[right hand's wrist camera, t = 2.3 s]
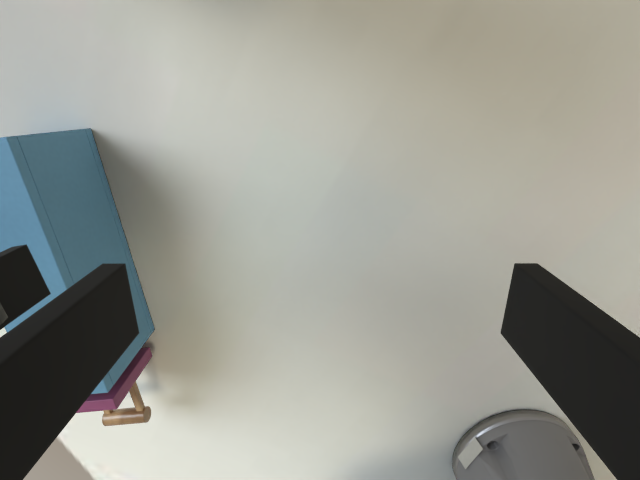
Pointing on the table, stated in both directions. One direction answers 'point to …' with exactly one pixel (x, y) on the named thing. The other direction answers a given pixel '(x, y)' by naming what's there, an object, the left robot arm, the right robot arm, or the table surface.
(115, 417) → the drawer
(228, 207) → the table surface
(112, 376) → the cabinet
